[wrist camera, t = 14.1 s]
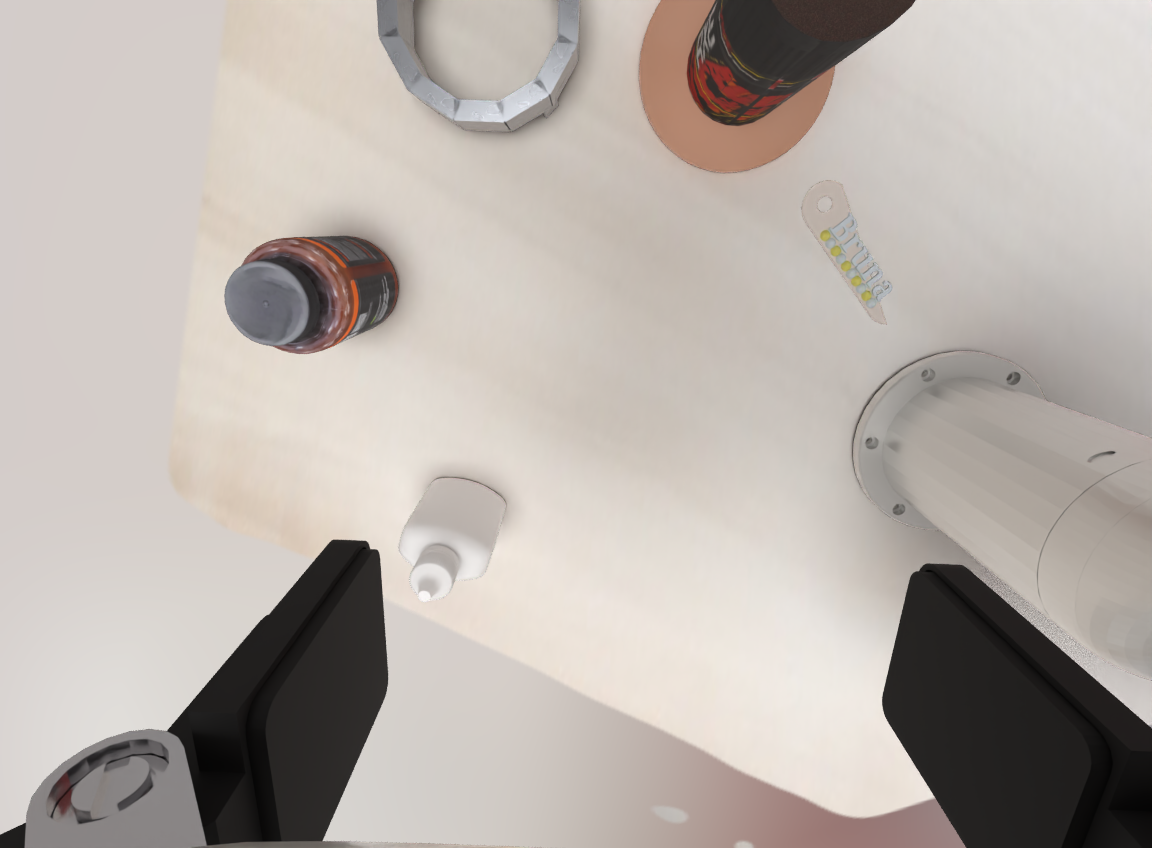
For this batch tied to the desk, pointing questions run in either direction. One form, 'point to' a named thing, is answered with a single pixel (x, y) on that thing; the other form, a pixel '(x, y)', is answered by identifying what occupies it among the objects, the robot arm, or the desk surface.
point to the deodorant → (775, 50)
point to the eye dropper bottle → (450, 535)
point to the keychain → (844, 245)
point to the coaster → (685, 122)
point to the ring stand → (482, 113)
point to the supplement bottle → (311, 292)
